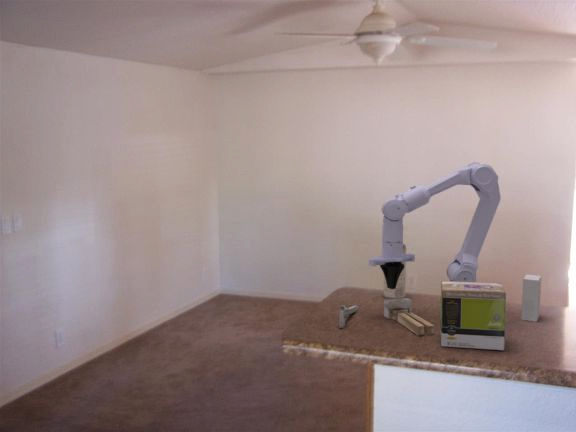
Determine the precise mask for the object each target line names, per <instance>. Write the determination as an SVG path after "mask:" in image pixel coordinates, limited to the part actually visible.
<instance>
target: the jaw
mask: <svg viewBox="0 0 576 432" xmlns="http://www.w3.org/2000/svg"><path fill="white" fill-rule="evenodd" d="M395 321H396V322H398V323H399V324H400V325H402V326H403V327H405V328H406V329H407V330H409V331H410V332H412V333H413V334H415V335H416V336H424V335H425V333H424V326H423V325H422V324H420V323H419V322H417V321H415V320H414V319H412V318H411V317H409V316H408V315H406V314H404V313H402V312H401V311H397V312H396V320H395Z"/></svg>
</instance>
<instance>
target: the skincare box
mask: <svg viewBox="0 0 576 432" xmlns="http://www.w3.org/2000/svg"><path fill="white" fill-rule="evenodd" d="M522 280H523V281H522V296H521V297H522V298H521V300H522V301H521V302H522V303H521V318H520V320H521V321H526V320H527V322H534V323H537V321H538V320H539V318H540V313H541V309H540V308H541V293H542V291H541V288H542V275H536V274H525V276H524V278H523V279H522Z"/></svg>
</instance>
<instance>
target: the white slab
mask: <svg viewBox="0 0 576 432" xmlns="http://www.w3.org/2000/svg"><path fill="white" fill-rule="evenodd" d="M412 302H413V301H412V299H410V298H408V297H405V298H399V299H384V301H383V305H384V306H383V317H384V318H386V319H388V320H390V319H391V318H390V309H397V308H405V309H407V310H408V313H412V309H413V308H412Z"/></svg>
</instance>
